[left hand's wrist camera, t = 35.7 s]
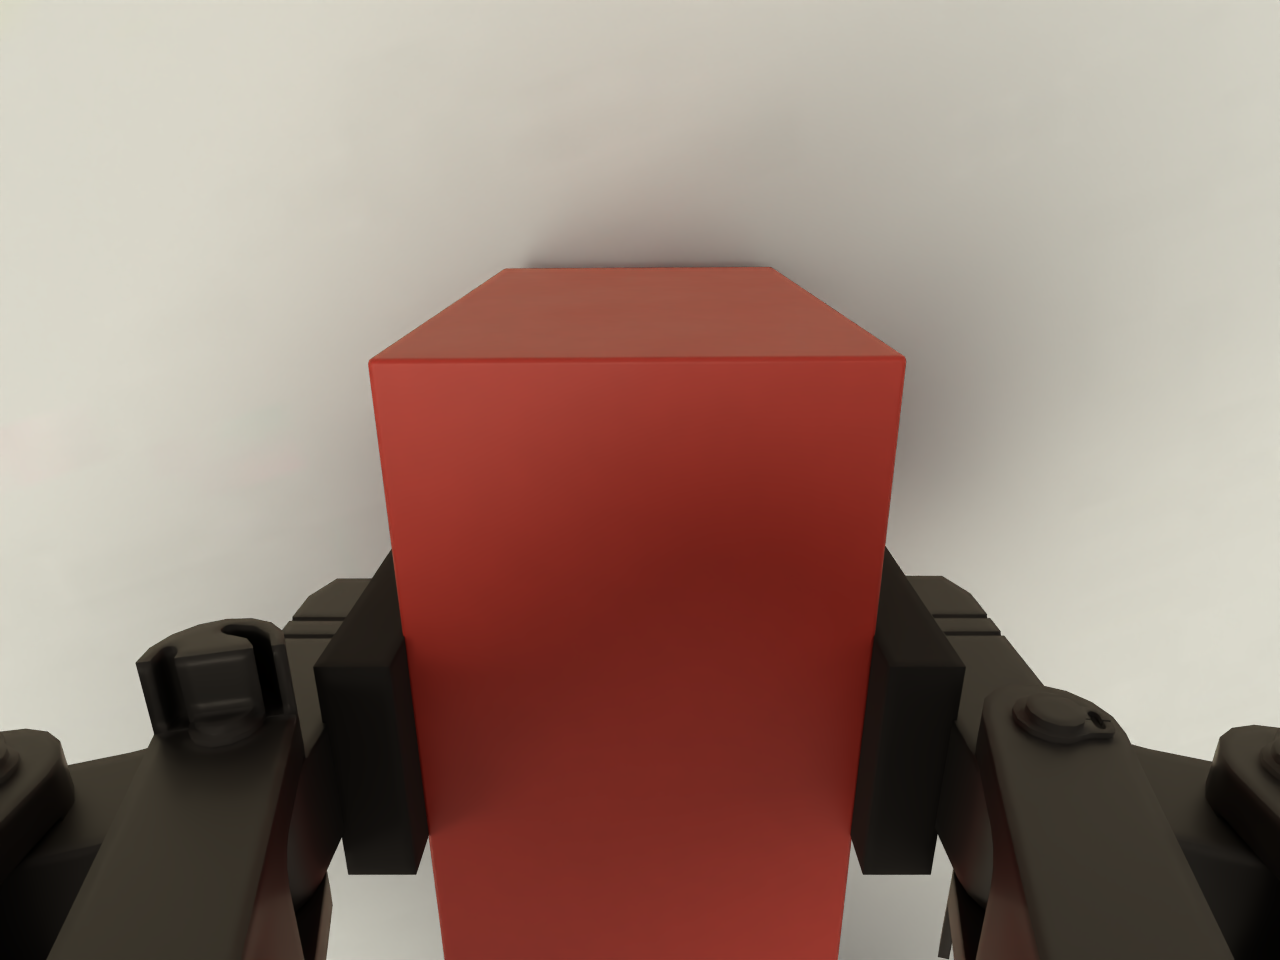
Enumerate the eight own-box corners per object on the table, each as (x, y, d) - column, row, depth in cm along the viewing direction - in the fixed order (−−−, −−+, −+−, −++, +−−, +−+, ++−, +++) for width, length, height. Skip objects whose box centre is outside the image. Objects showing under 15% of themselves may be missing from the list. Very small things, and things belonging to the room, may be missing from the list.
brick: (752, 655, 18) (834, 999, 10) (528, 656, 18) (448, 1002, 10) (772, 266, 15) (908, 355, 7) (503, 268, 15) (365, 359, 7)
